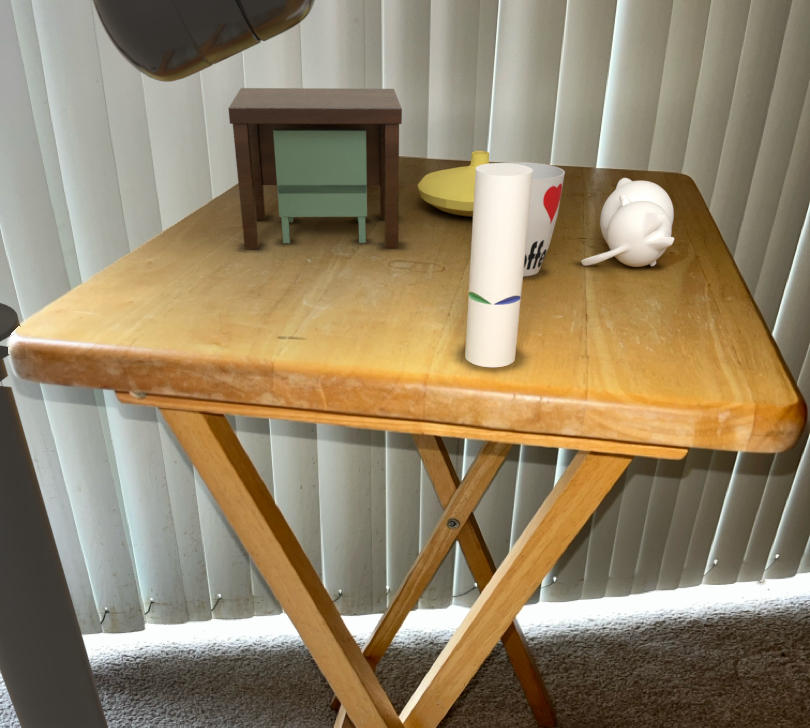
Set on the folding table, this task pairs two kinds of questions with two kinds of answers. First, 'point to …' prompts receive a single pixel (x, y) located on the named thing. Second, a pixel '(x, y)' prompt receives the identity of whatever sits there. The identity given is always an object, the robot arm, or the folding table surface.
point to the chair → (321, 175)
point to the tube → (497, 262)
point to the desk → (314, 110)
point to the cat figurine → (636, 224)
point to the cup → (541, 213)
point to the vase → (453, 186)
